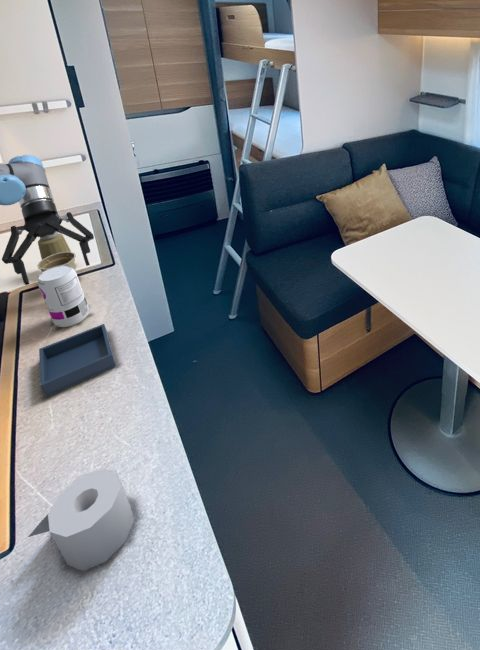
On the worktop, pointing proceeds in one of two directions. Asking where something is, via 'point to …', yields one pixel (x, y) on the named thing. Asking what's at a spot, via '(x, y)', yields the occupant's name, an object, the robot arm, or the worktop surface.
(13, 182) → the robot arm
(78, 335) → the blue open tray
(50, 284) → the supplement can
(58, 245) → the squeeze bottle
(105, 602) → the worktop surface
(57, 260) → the flower pot
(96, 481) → the toilet tissue
